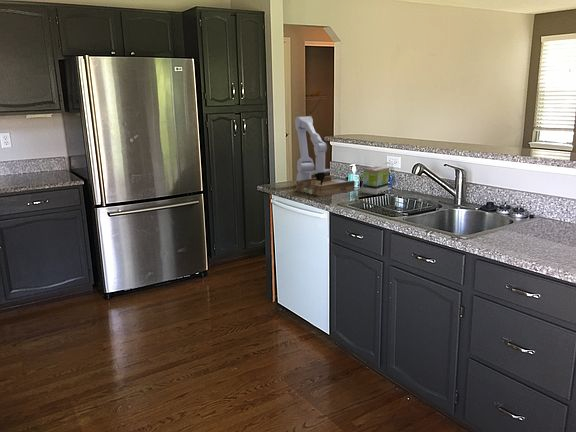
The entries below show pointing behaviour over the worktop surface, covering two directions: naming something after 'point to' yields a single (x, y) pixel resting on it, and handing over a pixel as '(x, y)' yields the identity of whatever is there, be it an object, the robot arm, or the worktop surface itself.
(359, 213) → the worktop surface
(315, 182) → the maple cube
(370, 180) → the tea box
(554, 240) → the worktop surface
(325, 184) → the trap board
